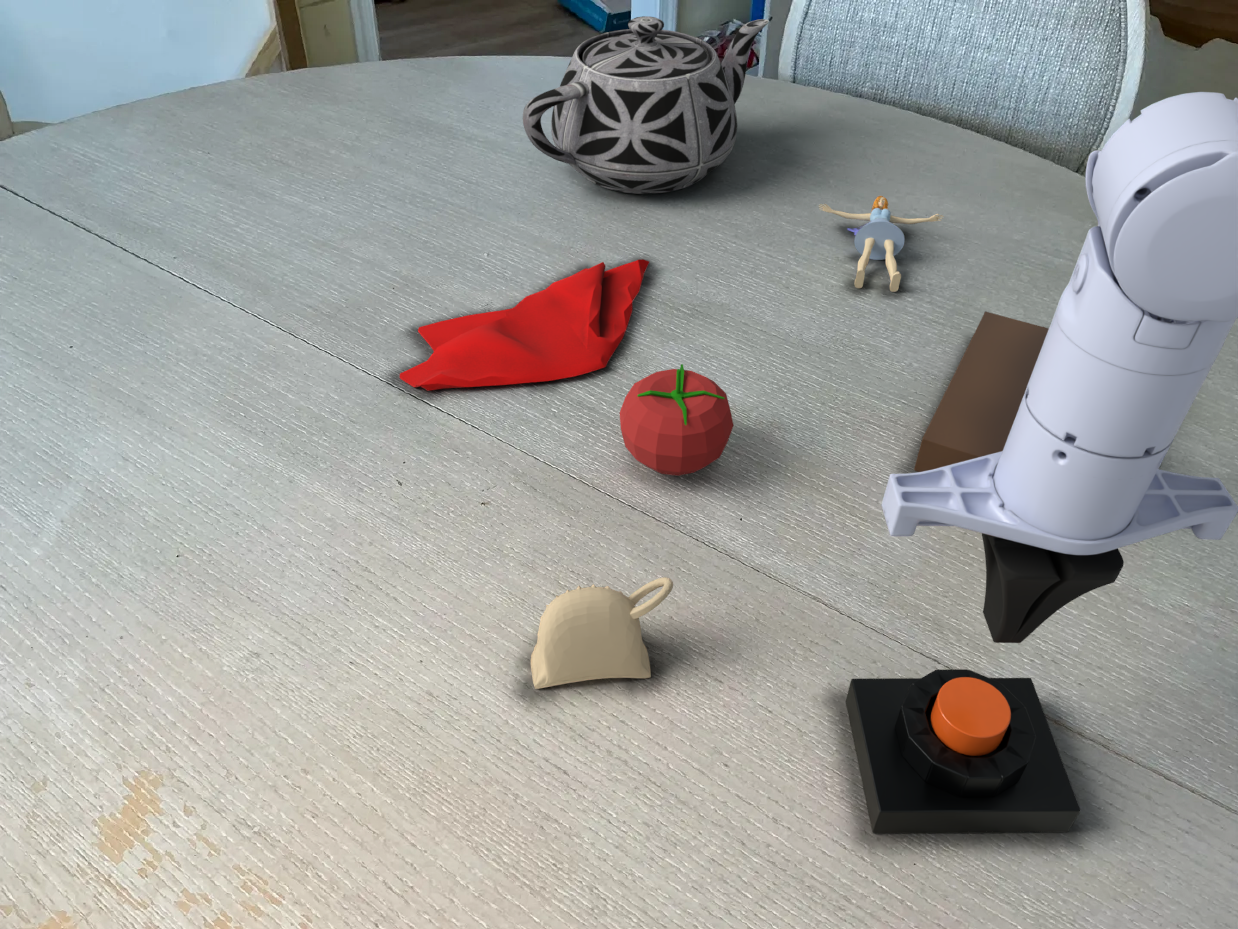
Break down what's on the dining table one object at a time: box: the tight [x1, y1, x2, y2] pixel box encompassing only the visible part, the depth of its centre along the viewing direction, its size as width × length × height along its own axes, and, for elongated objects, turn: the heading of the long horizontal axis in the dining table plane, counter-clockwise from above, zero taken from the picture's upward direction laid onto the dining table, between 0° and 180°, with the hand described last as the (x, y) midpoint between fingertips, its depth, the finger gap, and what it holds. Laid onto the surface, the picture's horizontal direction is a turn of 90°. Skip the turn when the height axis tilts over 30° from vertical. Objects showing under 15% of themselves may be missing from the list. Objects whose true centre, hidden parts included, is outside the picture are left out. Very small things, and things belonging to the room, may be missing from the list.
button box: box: [845, 668, 1081, 834], centre depth 53 cm, size 10×8×4 cm
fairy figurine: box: [818, 195, 945, 293], centre depth 92 cm, size 12×5×12 cm
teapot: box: [522, 15, 769, 195], centre depth 103 cm, size 19×31×15 cm, turn 127°
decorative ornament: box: [530, 576, 674, 690], centre depth 58 cm, size 4×8×5 cm, turn 95°
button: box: [931, 677, 1011, 756], centre depth 51 cm, size 4×4×2 cm
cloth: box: [399, 258, 650, 392], centre depth 83 cm, size 26×14×2 cm, turn 124°
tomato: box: [619, 363, 735, 477], centre depth 70 cm, size 8×8×8 cm
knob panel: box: [913, 311, 1049, 472], centre depth 74 cm, size 14×20×3 cm
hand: (1002, 626), depth 49 cm, fingers closed
